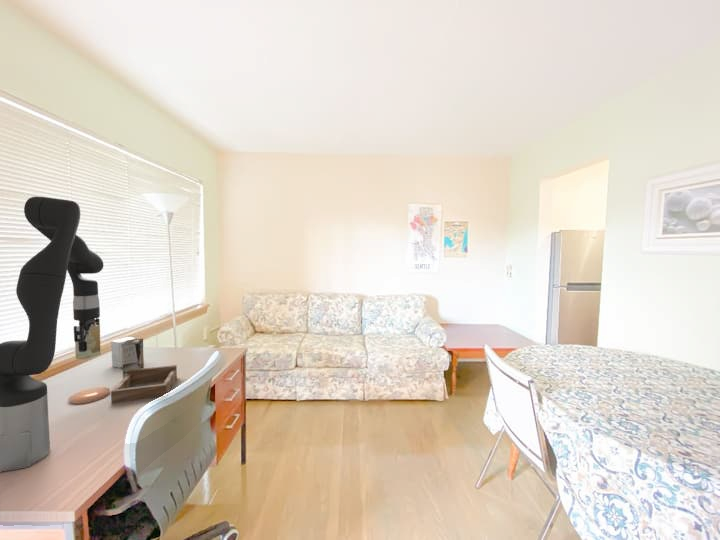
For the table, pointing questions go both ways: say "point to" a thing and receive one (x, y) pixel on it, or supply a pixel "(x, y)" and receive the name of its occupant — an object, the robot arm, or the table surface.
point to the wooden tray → (144, 376)
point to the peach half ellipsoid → (89, 395)
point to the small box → (118, 351)
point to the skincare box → (90, 344)
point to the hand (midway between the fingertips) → (88, 348)
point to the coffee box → (132, 355)
